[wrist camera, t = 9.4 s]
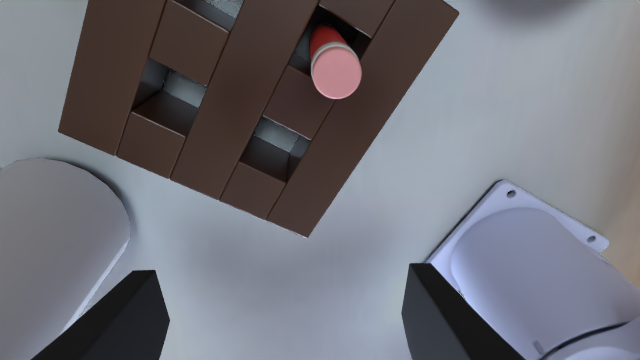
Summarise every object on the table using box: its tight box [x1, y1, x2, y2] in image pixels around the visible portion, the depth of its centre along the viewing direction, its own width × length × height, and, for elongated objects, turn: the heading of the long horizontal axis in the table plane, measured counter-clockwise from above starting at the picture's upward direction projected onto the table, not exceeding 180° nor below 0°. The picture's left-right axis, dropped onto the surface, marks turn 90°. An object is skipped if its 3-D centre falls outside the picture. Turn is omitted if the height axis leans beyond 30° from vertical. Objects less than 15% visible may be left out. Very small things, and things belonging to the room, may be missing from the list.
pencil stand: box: [58, 0, 459, 238], centre depth 15 cm, size 12×12×4 cm
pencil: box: [310, 23, 362, 99], centre depth 13 cm, size 1×1×8 cm
